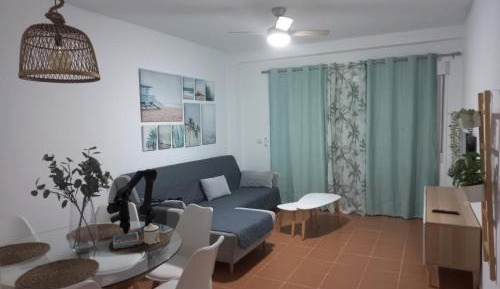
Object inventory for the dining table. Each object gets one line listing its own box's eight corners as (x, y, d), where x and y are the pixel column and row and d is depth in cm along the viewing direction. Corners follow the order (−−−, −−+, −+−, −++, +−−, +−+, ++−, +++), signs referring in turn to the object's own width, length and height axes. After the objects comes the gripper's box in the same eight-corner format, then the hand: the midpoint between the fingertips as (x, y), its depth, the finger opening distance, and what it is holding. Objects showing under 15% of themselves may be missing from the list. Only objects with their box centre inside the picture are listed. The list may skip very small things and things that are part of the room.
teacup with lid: (158, 244, 198) (157, 225, 197) (143, 246, 197) (141, 227, 196) (161, 237, 210) (160, 219, 209) (146, 238, 209) (145, 220, 208)
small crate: (121, 235, 215) (120, 226, 214) (131, 234, 217) (130, 225, 216) (121, 239, 210) (120, 229, 209) (131, 237, 212) (130, 228, 211)
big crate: (114, 241, 206) (113, 235, 206) (138, 237, 211) (137, 231, 211) (113, 250, 193) (113, 244, 193) (139, 245, 198) (138, 239, 198)
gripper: (110, 207, 217) (112, 230, 219) (109, 215, 200) (111, 240, 202) (129, 205, 221) (130, 228, 223) (129, 213, 204) (131, 237, 205)
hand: (125, 233), depth 213 cm, fingers open, 8 cm apart
